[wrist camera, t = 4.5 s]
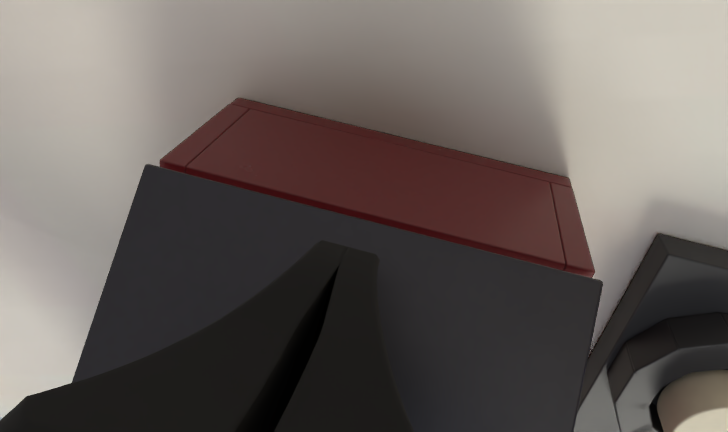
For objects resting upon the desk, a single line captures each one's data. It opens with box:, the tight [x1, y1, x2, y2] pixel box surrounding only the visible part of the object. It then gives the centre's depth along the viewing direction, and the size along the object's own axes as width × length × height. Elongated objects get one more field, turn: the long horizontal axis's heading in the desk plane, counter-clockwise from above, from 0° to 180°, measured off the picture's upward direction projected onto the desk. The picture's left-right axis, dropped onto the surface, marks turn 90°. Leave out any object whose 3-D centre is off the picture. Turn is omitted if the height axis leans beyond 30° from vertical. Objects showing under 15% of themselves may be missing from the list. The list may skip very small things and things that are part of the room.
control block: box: [574, 234, 728, 432], centre depth 21 cm, size 10×7×3 cm
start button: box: [657, 370, 728, 432], centre depth 20 cm, size 4×4×2 cm
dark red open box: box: [160, 98, 595, 278], centre depth 22 cm, size 15×13×6 cm
